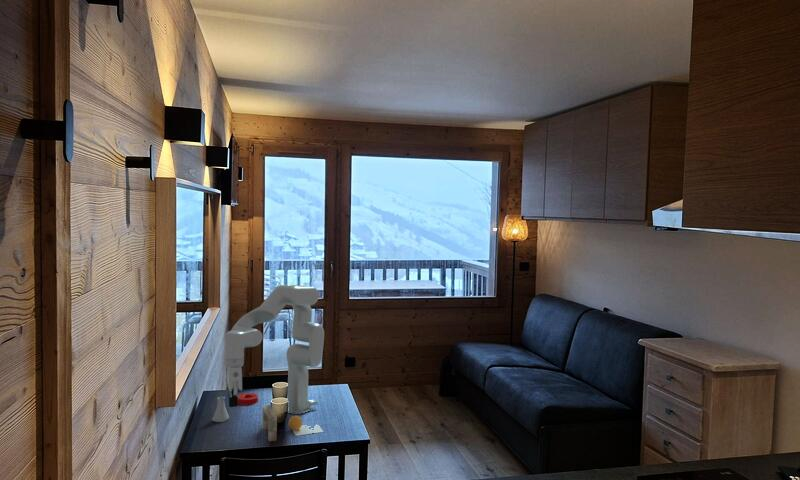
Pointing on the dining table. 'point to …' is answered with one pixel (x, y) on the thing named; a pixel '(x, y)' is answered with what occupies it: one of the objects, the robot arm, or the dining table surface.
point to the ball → (295, 422)
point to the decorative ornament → (247, 399)
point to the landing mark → (307, 430)
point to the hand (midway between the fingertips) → (233, 406)
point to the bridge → (269, 422)
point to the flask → (220, 411)
